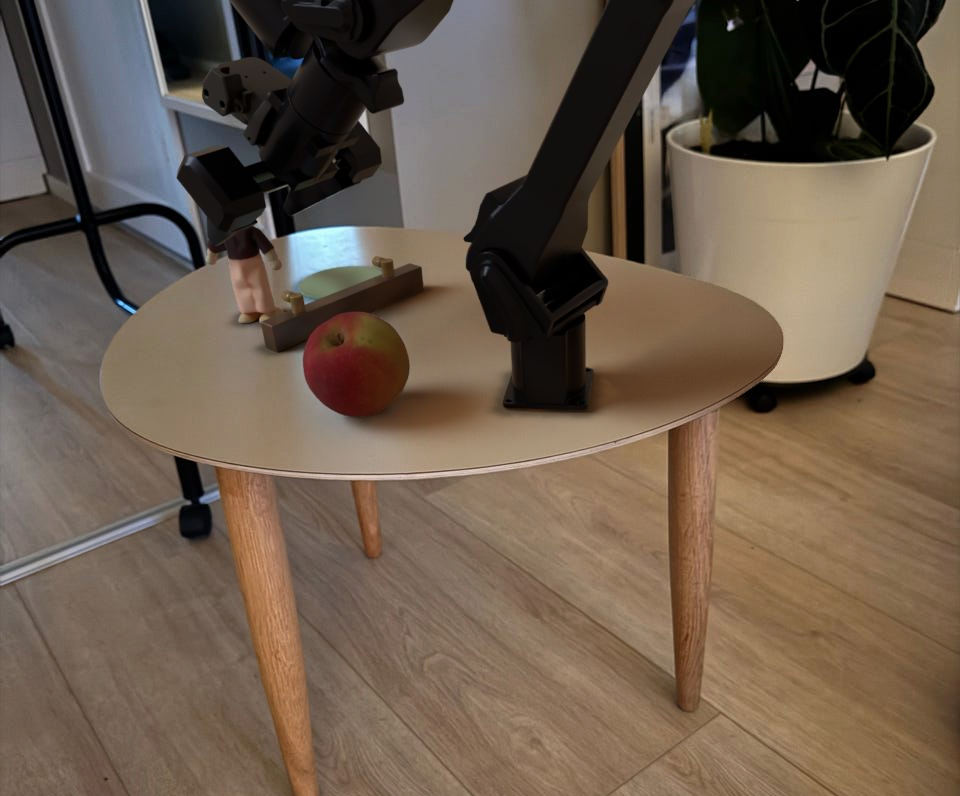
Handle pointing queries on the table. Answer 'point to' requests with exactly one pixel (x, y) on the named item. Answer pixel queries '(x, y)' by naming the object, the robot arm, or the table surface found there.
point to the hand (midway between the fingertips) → (251, 226)
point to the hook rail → (340, 298)
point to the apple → (356, 364)
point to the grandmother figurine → (249, 273)
